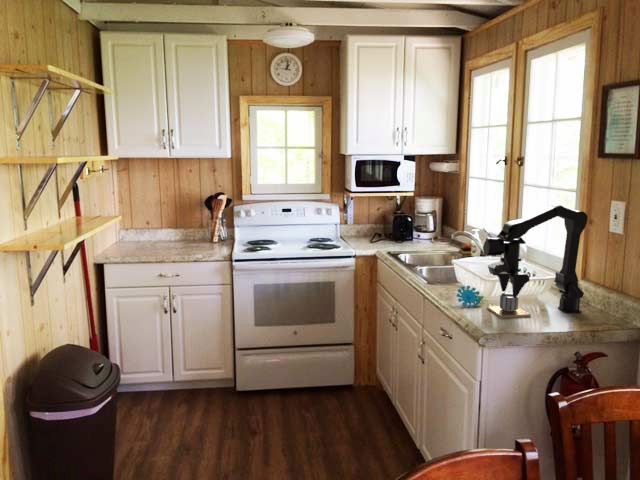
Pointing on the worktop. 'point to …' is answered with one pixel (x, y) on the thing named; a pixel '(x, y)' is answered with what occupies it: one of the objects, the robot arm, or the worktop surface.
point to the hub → (508, 301)
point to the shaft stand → (508, 312)
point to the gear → (469, 296)
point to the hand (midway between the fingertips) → (509, 294)
